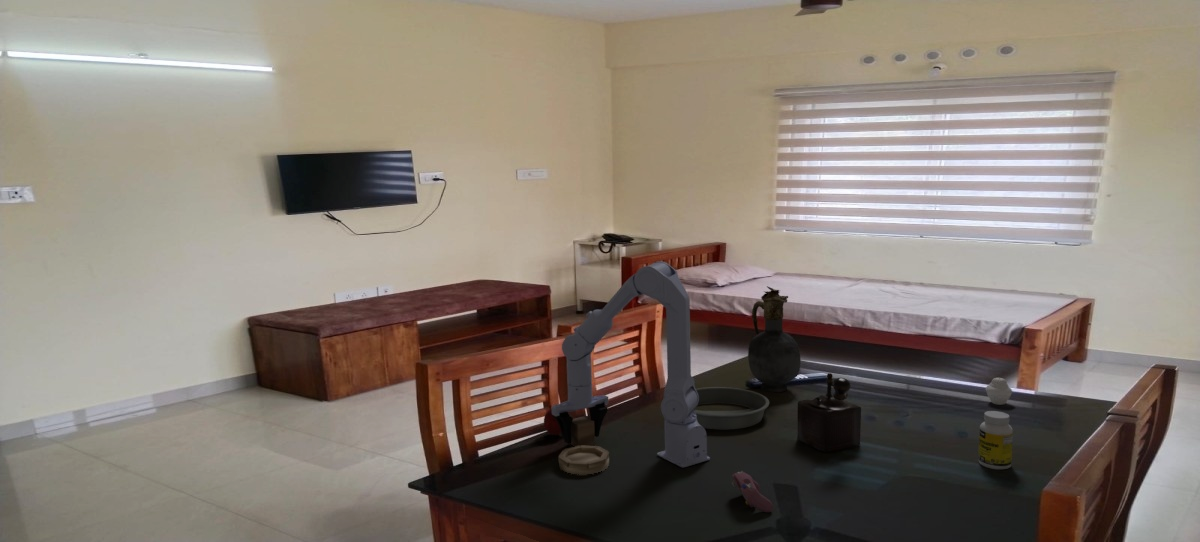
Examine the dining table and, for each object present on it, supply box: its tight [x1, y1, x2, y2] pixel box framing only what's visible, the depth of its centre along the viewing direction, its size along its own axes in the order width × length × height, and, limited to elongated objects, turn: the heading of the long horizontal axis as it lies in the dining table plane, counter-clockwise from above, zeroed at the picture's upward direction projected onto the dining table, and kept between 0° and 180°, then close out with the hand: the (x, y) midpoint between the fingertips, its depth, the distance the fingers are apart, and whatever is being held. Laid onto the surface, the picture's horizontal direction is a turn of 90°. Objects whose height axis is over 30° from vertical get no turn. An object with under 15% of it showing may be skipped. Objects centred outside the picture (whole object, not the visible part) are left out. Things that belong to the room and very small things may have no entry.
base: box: [557, 445, 610, 476], centre depth 163 cm, size 11×11×2 cm
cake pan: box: [694, 386, 770, 430], centre depth 193 cm, size 25×25×4 cm
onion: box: [543, 403, 562, 437], centre depth 182 cm, size 6×6×8 cm
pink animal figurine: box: [731, 470, 774, 513], centre depth 142 cm, size 10×5×7 cm, turn 5°
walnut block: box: [571, 415, 596, 446], centre depth 175 cm, size 4×4×6 cm
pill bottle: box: [978, 410, 1014, 471], centre depth 156 cm, size 6×6×11 cm
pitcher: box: [747, 286, 802, 393], centre depth 215 cm, size 11×19×30 cm, turn 19°
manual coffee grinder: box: [796, 372, 862, 453], centre depth 169 cm, size 16×11×18 cm
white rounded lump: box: [985, 377, 1013, 406], centre depth 196 cm, size 6×6×7 cm
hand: (581, 438), depth 176 cm, fingers open, 7 cm apart
